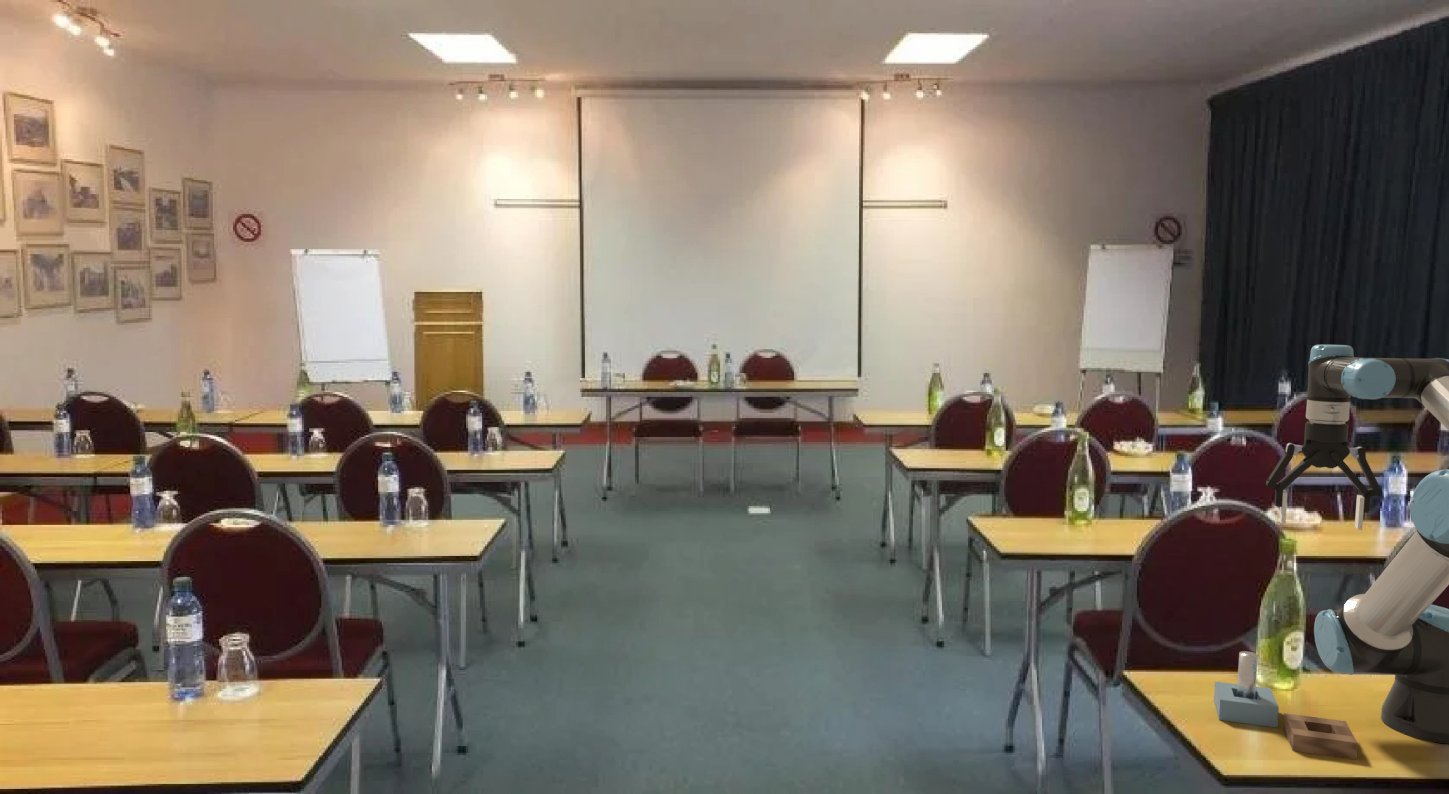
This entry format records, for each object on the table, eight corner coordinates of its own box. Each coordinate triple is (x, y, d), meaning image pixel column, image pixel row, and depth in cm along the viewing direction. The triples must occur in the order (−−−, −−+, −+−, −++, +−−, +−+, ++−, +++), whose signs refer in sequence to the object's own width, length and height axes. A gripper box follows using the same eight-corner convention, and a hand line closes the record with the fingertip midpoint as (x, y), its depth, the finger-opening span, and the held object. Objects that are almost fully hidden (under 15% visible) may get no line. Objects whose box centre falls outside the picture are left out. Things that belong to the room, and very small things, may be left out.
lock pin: (1252, 712, 202) (1256, 652, 201) (1255, 718, 199) (1258, 658, 198) (1234, 709, 203) (1238, 650, 202) (1236, 715, 200) (1240, 655, 199)
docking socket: (1269, 708, 204) (1270, 688, 204) (1277, 727, 195) (1278, 707, 194) (1213, 700, 208) (1214, 681, 207) (1219, 719, 198) (1220, 699, 198)
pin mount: (1344, 736, 191) (1345, 721, 191) (1356, 759, 182) (1357, 743, 181) (1283, 728, 194) (1284, 713, 194) (1292, 750, 185) (1293, 734, 185)
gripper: (1260, 420, 208) (1254, 524, 210) (1404, 427, 200) (1396, 534, 202) (1255, 416, 215) (1249, 516, 217) (1394, 422, 207) (1386, 526, 209)
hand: (1319, 525), depth 210 cm, fingers open, 13 cm apart
